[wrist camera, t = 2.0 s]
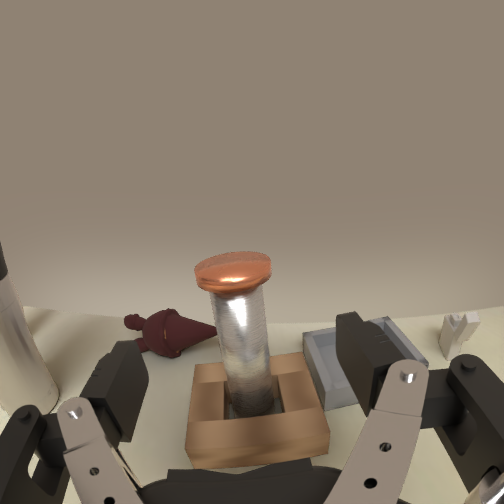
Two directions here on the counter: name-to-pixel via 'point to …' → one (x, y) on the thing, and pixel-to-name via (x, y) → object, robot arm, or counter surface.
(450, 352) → the lighter
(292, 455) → the hitch block
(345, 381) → the tray
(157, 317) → the icecream
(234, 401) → the pin
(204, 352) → the counter surface
